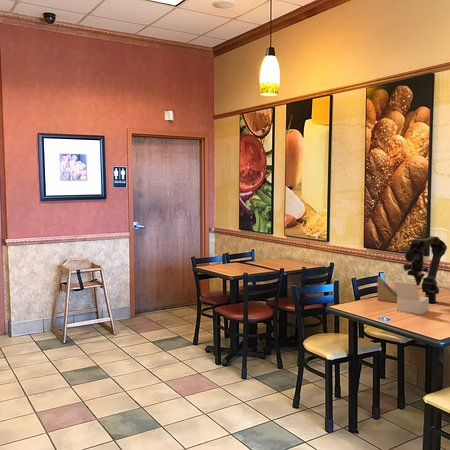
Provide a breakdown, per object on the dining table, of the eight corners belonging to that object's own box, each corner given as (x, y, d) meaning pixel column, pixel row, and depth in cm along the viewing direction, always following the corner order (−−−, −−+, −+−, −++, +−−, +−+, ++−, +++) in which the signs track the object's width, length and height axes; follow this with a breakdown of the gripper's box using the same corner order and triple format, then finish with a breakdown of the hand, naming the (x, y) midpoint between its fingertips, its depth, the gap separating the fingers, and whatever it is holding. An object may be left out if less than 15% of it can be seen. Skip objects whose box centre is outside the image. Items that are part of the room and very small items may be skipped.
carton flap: (394, 280, 285) (394, 281, 284) (416, 283, 276) (416, 283, 276) (398, 297, 289) (397, 298, 289) (419, 300, 281) (419, 301, 281)
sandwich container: (402, 302, 312) (402, 279, 311) (377, 301, 317) (377, 278, 316) (403, 299, 320) (403, 277, 318) (378, 298, 325) (378, 275, 324)
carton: (405, 307, 299) (405, 294, 299) (428, 310, 290) (428, 297, 289) (396, 311, 291) (397, 297, 290) (420, 315, 281) (420, 301, 281)
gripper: (411, 257, 312) (410, 281, 313) (399, 260, 298) (398, 286, 299) (429, 258, 304) (428, 283, 306) (417, 262, 291) (417, 288, 292)
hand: (417, 285), depth 301 cm, fingers closed
